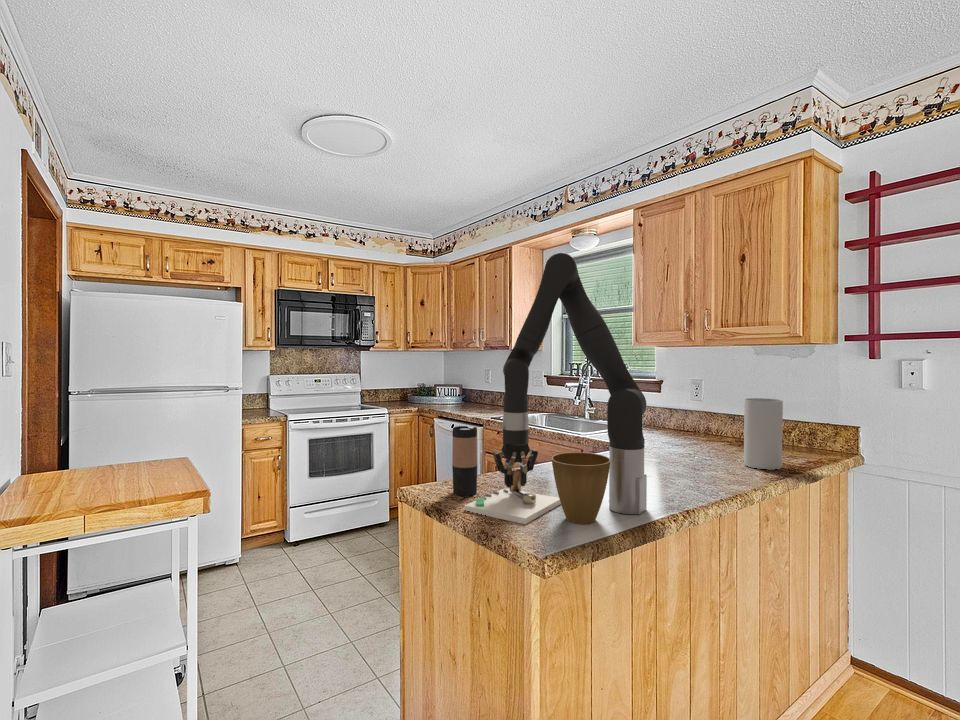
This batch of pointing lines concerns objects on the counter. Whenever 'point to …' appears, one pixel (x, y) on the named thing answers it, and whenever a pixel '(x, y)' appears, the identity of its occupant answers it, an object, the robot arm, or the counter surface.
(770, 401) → the cylinder vase
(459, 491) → the travel mug
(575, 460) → the plant pot
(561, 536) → the counter surface
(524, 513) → the square base plate
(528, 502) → the dial lever
